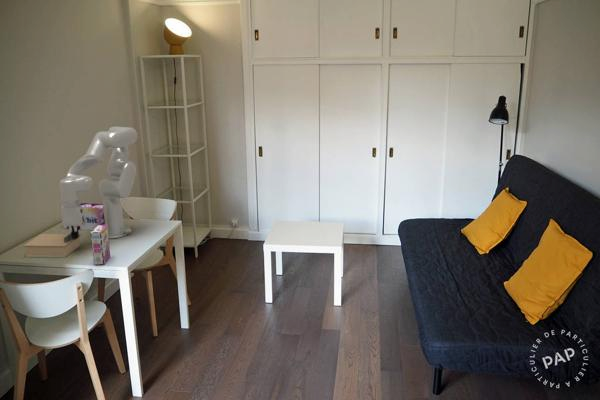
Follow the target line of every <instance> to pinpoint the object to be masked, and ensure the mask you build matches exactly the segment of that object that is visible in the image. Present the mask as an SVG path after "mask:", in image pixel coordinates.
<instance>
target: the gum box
mask: <svg viewBox="0 0 600 400" xmlns="http://www.w3.org/2000/svg"><path fill="white" fill-rule="evenodd" d="M80 205H81V206H82V209H83V212H84V216H85V223H84V224H85V227H84V228H80V229H79V230H85V231H86V230H87V231H88V230H89V231H93V230H94V229H95V228H96V227H97V226H98V225H105V221H104V212H103V204H102V203H94V202H93V203H92V202H91V203H89V202H82V204H80ZM62 206H63V204H62V205H61V207H62Z"/></svg>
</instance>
